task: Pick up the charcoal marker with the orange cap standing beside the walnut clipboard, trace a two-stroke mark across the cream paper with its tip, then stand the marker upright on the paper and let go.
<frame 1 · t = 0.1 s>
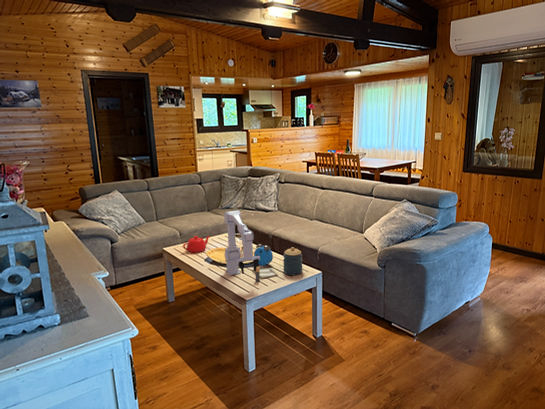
hand: (248, 272, 224), 10 cm above the table, tool pointing down, fingers open, 7 cm apart
canister: (293, 272, 248), on the table
alarm clock: (263, 264, 263), on the table
marker: (257, 280, 235), on the table
teapot: (197, 250, 297), on the table
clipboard: (264, 273, 247), on the table
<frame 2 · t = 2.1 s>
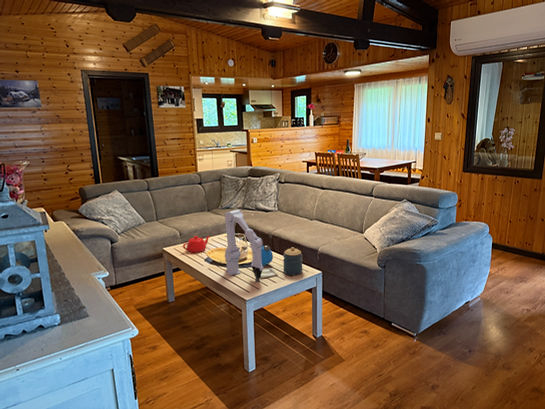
hand: (257, 277, 235), 2 cm above the table, tool pointing down, fingers closed on marker, 3 cm apart
marker: (257, 280, 235), on the table, touching gripper
everything else where it was.
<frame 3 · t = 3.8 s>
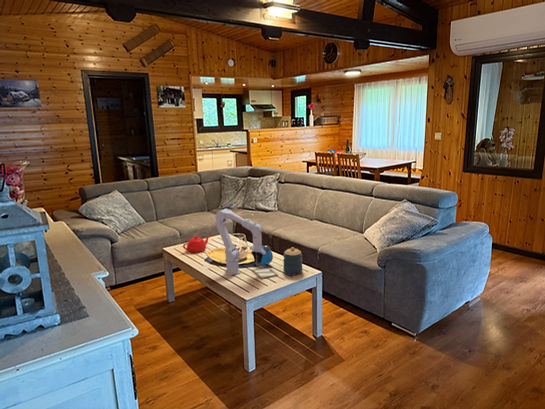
hand: (257, 262, 242), 9 cm above the table, tool pointing down, fingers closed on marker, 3 cm apart
marker: (258, 265, 242), point 7 cm above the table, touching gripper
everything else where it was.
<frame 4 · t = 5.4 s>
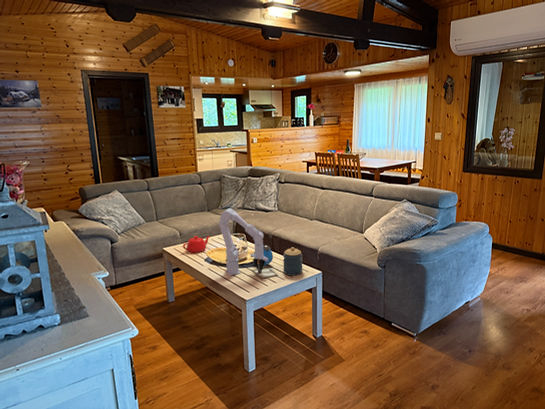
hand: (259, 269, 246), 3 cm above the table, tool pointing down, fingers closed on marker, 3 cm apart
marker: (259, 272, 246), point 1 cm above the table, touching gripper
everything else where it was.
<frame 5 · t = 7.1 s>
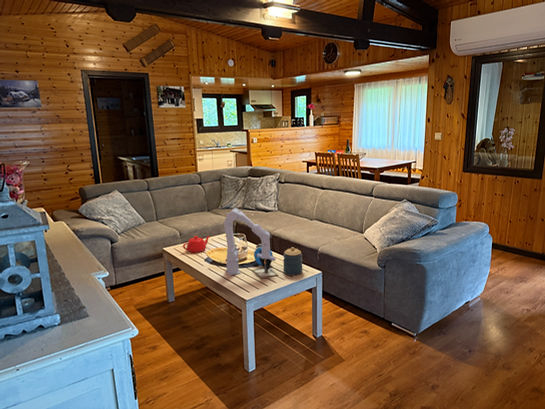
hand: (266, 268, 246), 3 cm above the table, tool pointing down, fingers closed on marker, 3 cm apart
marker: (266, 272, 247), point 1 cm above the table, touching gripper
everything else where it was.
when the fingers open (4 cm above the table, at t = 8.6 s): marker drops 1 cm, resting on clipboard.
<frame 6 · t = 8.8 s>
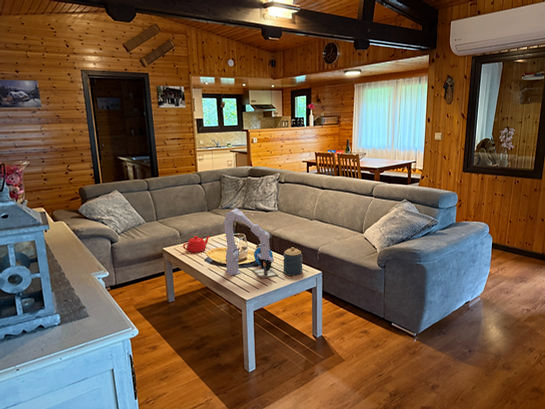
hand: (265, 269, 242), 4 cm above the table, tool pointing down, fingers open, 4 cm apart
marker: (265, 274, 243), point 1 cm above the table, touching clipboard
everything else where it was.
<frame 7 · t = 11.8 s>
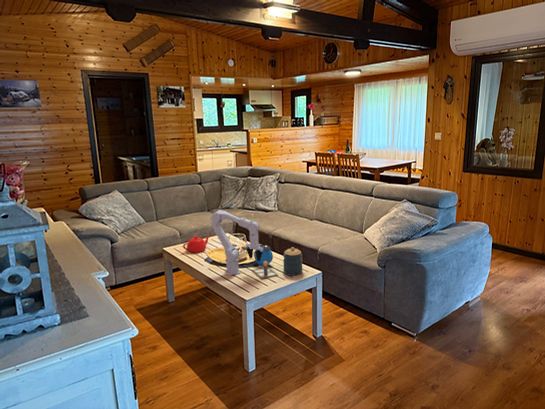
hand: (254, 259, 244), 10 cm above the table, tool pointing down, fingers open, 7 cm apart
nothing on the table moved.
at the end: marker inside the target area on the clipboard (3.9 cm from its centre), point 0.7 cm above the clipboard's base; marker tilted 1°; the gripper is holding nothing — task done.
